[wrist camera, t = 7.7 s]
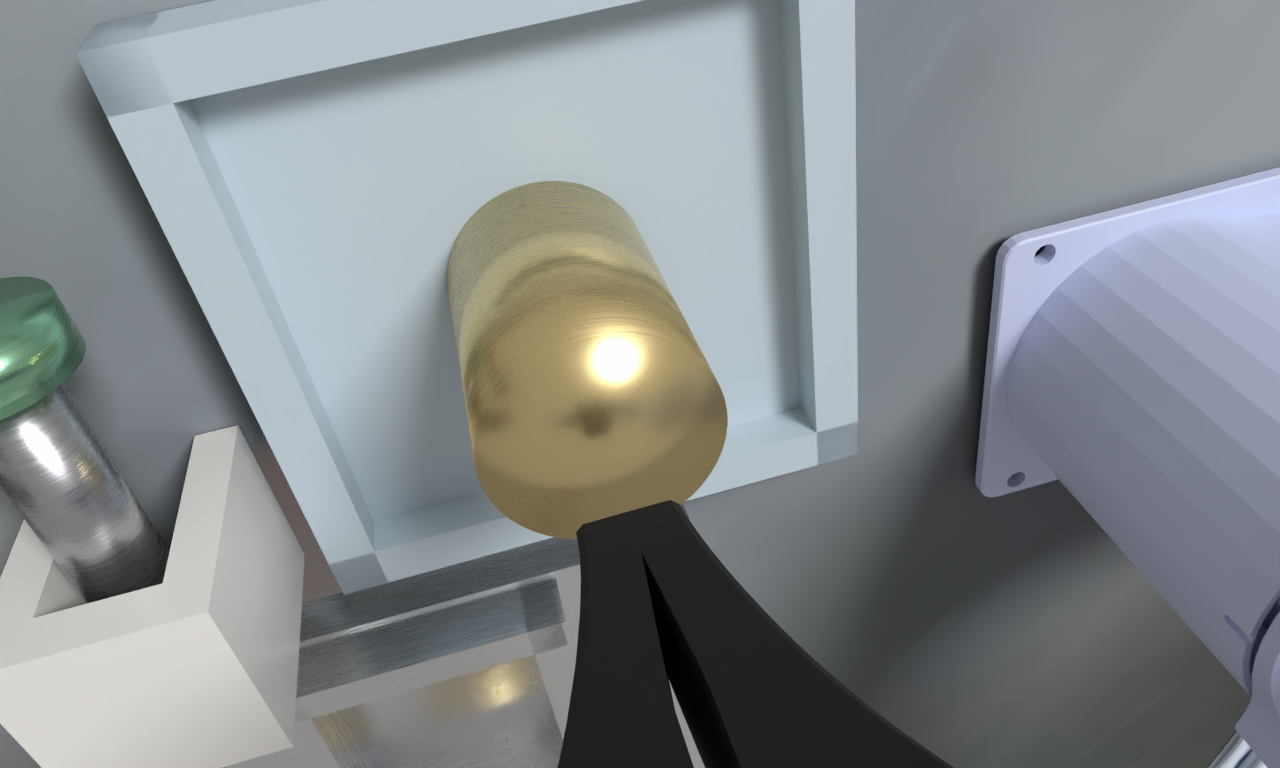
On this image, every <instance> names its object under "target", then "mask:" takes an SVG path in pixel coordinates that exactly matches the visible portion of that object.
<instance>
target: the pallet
mask: <svg viewBox="0 0 1280 768" xmlns="http://www.w3.org/2000/svg"><path fill="white" fill-rule="evenodd" d="M680 506H681V508H682V510H683V511H684V513H685V514H686V516H687V517H688V515H687V513H686V510H685V508H684V505H683V504H682V505H680ZM688 519H689V518H688ZM580 593H581V572H580V556H579V546H578V541H577V539H563V538H557V537H553V538H549V539H546V540H542V541H538V542H535V543H531V544H527V545H524V546H520V547H516V548H513V549H509V550H505V551H502V552H498V553H494V554H491V555H487V556H484V557H480V558H476V559H473V560H469V561H465V562H462V563H458V564H454V565H451V566H447V567H443V568H440V569H436V570H432V571H429V572H425V573H422V574H418V575H414V576H411V577H407V578H403V579H400V580H396V581H392V582H389V583H385V584H381V585H378V586H374V587H370V588H367V589H363V590H359V591H356V592H352V593H349V594H345V595H344V594H343V593H339V594H336V595H332V596H328V597H325V598H321V599H317V600H314V601H310V602H306V603H303V604H302V611H301V628H300V644H299V661H298V678H297V694H296V711H295V728H294V745H293V747H291V748H288V749H284V750H281V751H277V752H274V753H270V754H267V755H264V756H260V757H257V758H253V759H250V760H246V761H243V762H239V763H236V764H232V765H229V766H225V767H222V768H557V767H558V763H559V758H560V754H561V749H562V744H563V739H564V734H565V728H566V723H567V717H568V711H569V704H570V697H571V691H572V684H573V678H574V671H575V663H576V654H577V642H578V630H579V618H580ZM669 683H670V681H669ZM670 688H671V693H672V698H673V703H674V707H675V712H676V715H677V718H678V721H679V724H680V727H681V730H682V733H683V736H684V739H685V742H686V745H687V748H688V751H689V754H690V757H691V760H692V763H693V766H694V768H705V766H704V764H703V762H702V759H701V757H700V754H699V752H698V749H697V747H696V745H695V742H694V740H693V737H692V735H691V732H690V730H689V728H688V725H687V723H686V720H685V718H684V715H683V713H682V711H681V708H680V706H679V703H678V701H677V698H676V696H675V693H674V691H673V688H672V686H671V684H670Z"/></svg>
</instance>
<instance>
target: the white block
mask: <svg viewBox="0 0 1280 768" xmlns="http://www.w3.org/2000/svg"><path fill="white" fill-rule="evenodd" d="M304 560H305V554H304V553H303V551H302V549H301V547H300V545H299V543H298V541H297V539H296V537H295V535H294V533H293V531H292V529H291V527H290V525H289V523H288V521H287V519H286V518H285V516H284V514H283V512H282V510H281V508H280V506H279V504H278V502H277V500H276V498H275V496H274V494H273V492H272V490H271V488H270V487H269V484H268V483H267V480H266V479H265V477H264V475H263V473H262V471H261V469H260V467H259V465H258V463H257V461H256V459H255V457H254V455H253V453H252V451H251V449H250V447H249V445H248V443H247V442H246V440H245V438H244V436H243V434H242V432H241V430H240V428H239V426H238V425H236V426H233V427H229V428H225V429H221V430H217V431H213V432H209V433H205V434H201V435H197V436H194V441H193V446H192V450H191V455H190V460H189V464H188V469H187V473H186V478H185V483H184V487H183V492H182V496H181V501H180V506H179V510H178V515H177V520H176V524H175V529H174V533H173V538H172V543H171V547H170V552H169V556H168V561H167V566H166V570H165V575H164V580H163V583H162V584H158V585H155V586H151V587H147V588H143V589H140V590H136V591H132V592H129V593H125V594H121V595H117V596H114V597H110V598H106V599H102V600H99V601H95V602H91V603H86V601H85V600H84V599H83V597H82V596H81V595H80V593H79V592H78V591H77V589H76V588H75V587H74V585H73V584H72V583H71V581H70V580H69V579H68V577H67V576H66V575H65V573H64V572H63V571H62V569H61V568H60V567H59V565H58V564H57V562H56V561H55V560H54V558H53V557H52V556H51V554H50V553H49V552H48V550H47V549H46V548H45V546H44V545H43V544H42V542H41V541H40V540H39V538H38V537H37V536H36V534H35V533H34V532H33V530H32V529H31V528H30V526H29V525H28V524H27V522H26V521H25V520H23V523H22V525H21V528H20V530H19V533H18V535H17V538H16V540H15V543H14V545H13V548H12V550H11V553H10V555H9V558H8V560H7V563H6V565H5V568H4V570H3V573H2V575H1V578H0V724H1V725H2V726H3V727H4V728H5V729H6V730H7V731H8V732H9V733H10V734H11V735H12V736H13V737H14V739H15V740H16V741H17V742H18V743H19V744H20V745H21V746H22V747H23V748H24V749H25V750H26V751H27V752H28V753H29V755H30V756H31V757H32V758H33V759H34V760H35V761H36V762H37V763H38V764H39V765H40V766H41V767H42V768H222V767H225V766H229V765H232V764H236V763H239V762H243V761H246V760H250V759H253V758H257V757H260V756H264V755H267V754H270V753H274V752H277V751H281V750H284V749H288V748H291V747H293V745H294V728H295V711H296V694H297V678H298V661H299V644H300V628H301V611H302V594H303V577H304Z"/></svg>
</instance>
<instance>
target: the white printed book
mask: <svg viewBox="0 0 1280 768" xmlns="http://www.w3.org/2000/svg"><path fill="white" fill-rule="evenodd" d="M1209 768H1267V766H1266V765H1265V764H1264V763H1263V762H1262V761H1261V759H1260V758H1259V757H1258V756H1257V755H1256V753H1255V752H1254V751H1253V750H1252V749H1251V747H1250V746H1249V745H1248V744H1247V743H1246V742H1245V740H1244V739H1243V738H1242V737H1241V736H1240V734H1239V733H1238V732H1236V733H1235V734H1234V735H1233V737H1232V738H1231V739H1230V741H1229V742H1228V743H1227V745H1226V746H1225V747H1224V749H1223V750H1222V751H1221V752H1220V754H1219V755H1218V756H1217V757H1216V759H1215V760H1214V761H1213V762H1212V764H1211V765H1210V766H1209Z"/></svg>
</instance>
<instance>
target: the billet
mask: <svg viewBox="0 0 1280 768" xmlns="http://www.w3.org/2000/svg"><path fill="white" fill-rule="evenodd" d="M447 284H448V292H449V299H450V306H451V312H452V319H453V325H454V332H455V339H456V345H457V352H458V358H459V365H460V371H461V378H462V385H463V391H464V398H465V404H466V411H467V418H468V424H469V431H470V437H471V444H472V450H473V457H474V464H475V468H476V473H477V477H478V480H479V482H480V484H481V486H482V489H483V491H484V492H485V494H486V495H487V497H488V498H489V500H490V501H491V502H492V503H493V505H494V506H495V507H496V508H497V509H498V510H499V511H500V512H501V513H503V514H504V515H505V516H506V517H507V518H509V519H510V520H512V521H513V522H515V523H517V524H518V525H520V526H522V527H524V528H527V529H529V530H531V531H534V532H537V533H540V534H543V535H547V536H552V537H557V538H563V539H577V535H576V532H577V531H578V529H579V528H580V527H581V526H582V524H585V523H589V522H592V521H596V520H600V519H603V518H607V517H610V516H614V515H617V514H621V513H625V512H628V511H632V510H635V509H639V508H643V507H646V506H650V505H653V504H657V503H661V502H664V501H668V500H672V501H674V502H676V503H678V504H680V505H682V504H683V503H684V502H685V501H686V500H687V499H689V498H690V497H691V496H692V495H693V494H694V493H695V492H696V491H697V490H698V489H699V488H700V487H701V486H702V484H703V483H704V482H705V480H706V479H707V478H708V476H709V475H710V474H711V472H712V470H713V469H714V467H715V465H716V464H717V462H718V459H719V457H720V455H721V452H722V450H723V447H724V443H725V439H726V434H727V426H728V417H727V407H726V402H725V398H724V395H723V393H722V390H721V388H720V385H719V384H718V382H717V380H716V378H715V376H714V374H713V372H712V370H711V368H710V366H709V364H708V362H707V360H706V359H705V357H704V355H703V353H702V351H701V349H700V347H699V345H698V343H697V341H696V339H695V337H694V335H693V334H692V332H691V330H690V328H689V326H688V324H687V322H686V320H685V318H684V316H683V314H682V312H681V310H680V309H679V307H678V305H677V303H676V301H675V299H674V297H673V295H672V293H671V291H670V289H669V287H668V286H667V284H666V282H665V280H664V278H663V276H662V274H661V272H660V270H659V268H658V266H657V264H656V262H655V261H654V259H653V257H652V255H651V253H650V251H649V249H648V247H647V245H646V243H645V241H644V239H643V237H642V236H641V234H640V232H639V230H638V228H637V226H636V225H635V223H634V221H633V219H632V218H631V217H630V216H629V214H628V213H627V212H626V211H625V210H624V209H623V208H622V207H621V206H620V205H619V204H618V203H617V202H616V201H614V200H613V199H611V198H610V197H609V196H607V195H606V194H604V193H602V192H600V191H598V190H596V189H594V188H591V187H588V186H585V185H582V184H577V183H573V182H566V181H541V182H535V183H529V184H525V185H522V186H518V187H515V188H513V189H510V190H508V191H506V192H503V193H501V194H500V195H498V196H496V197H495V198H493V199H491V200H490V201H488V202H487V203H486V204H484V205H483V206H482V207H481V208H479V209H478V210H477V211H476V212H475V213H474V214H473V215H472V216H471V217H470V218H469V220H468V221H467V222H466V224H465V225H464V226H463V228H462V229H461V231H460V232H459V234H458V236H457V238H456V240H455V242H454V244H453V247H452V250H451V252H450V257H449V261H448V268H447Z"/></svg>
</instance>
